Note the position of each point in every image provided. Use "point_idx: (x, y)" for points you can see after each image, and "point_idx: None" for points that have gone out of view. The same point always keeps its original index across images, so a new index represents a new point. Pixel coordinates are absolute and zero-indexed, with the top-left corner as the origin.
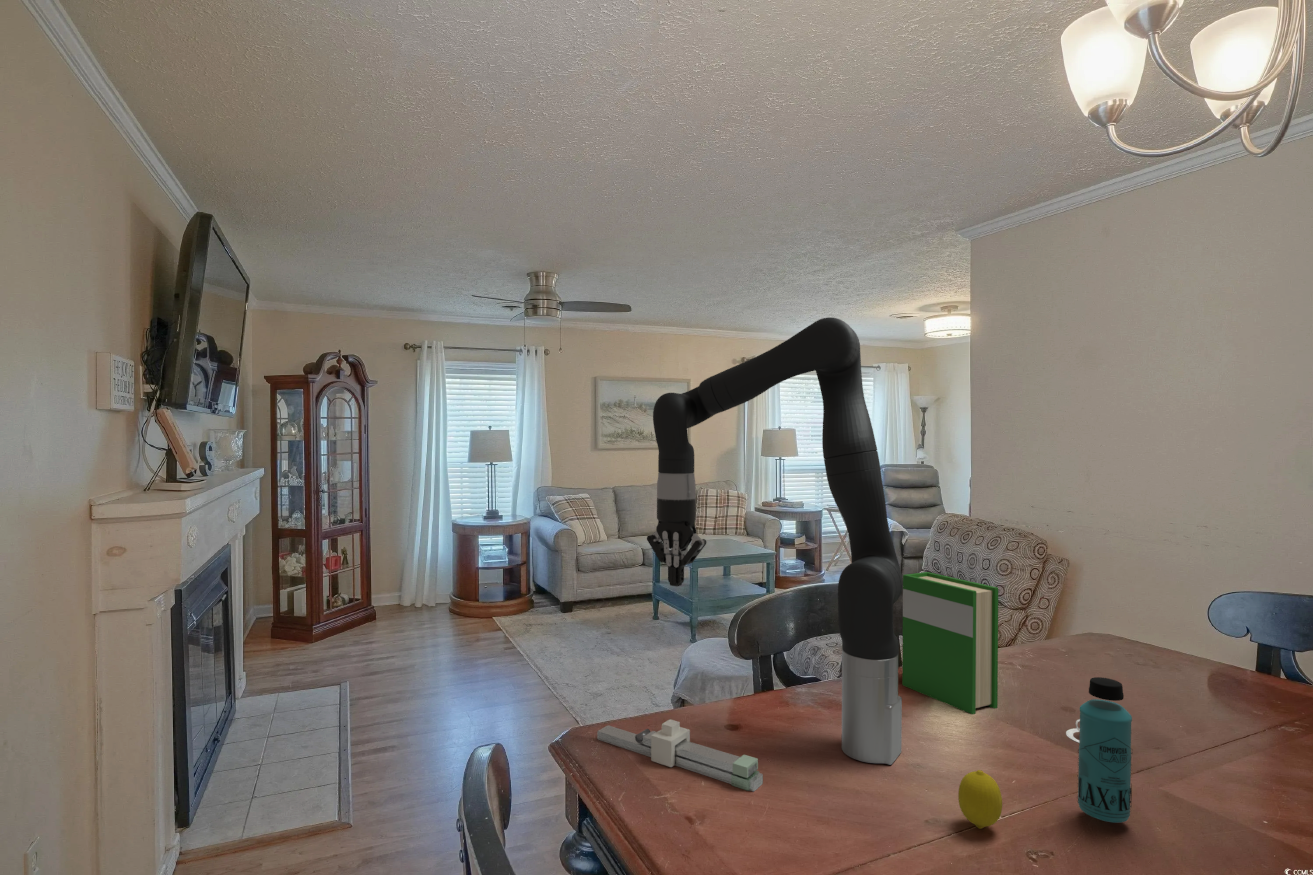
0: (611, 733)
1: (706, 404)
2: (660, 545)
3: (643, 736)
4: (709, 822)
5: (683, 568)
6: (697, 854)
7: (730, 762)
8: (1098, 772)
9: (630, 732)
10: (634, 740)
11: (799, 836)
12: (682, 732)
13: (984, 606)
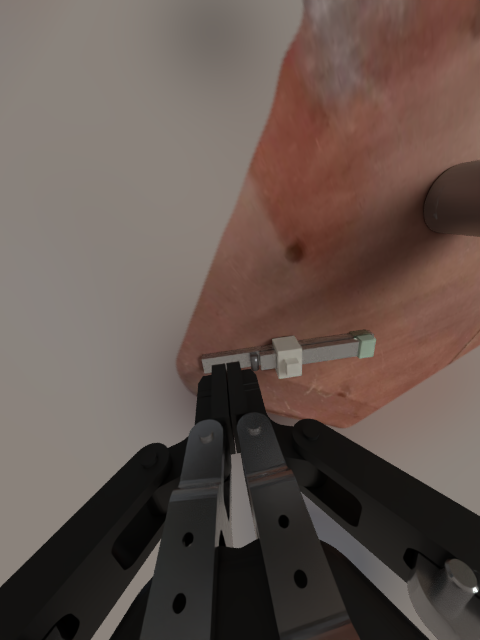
0: None
1: None
2: (92, 592)
3: (261, 369)
4: (354, 389)
5: (266, 415)
6: (361, 412)
7: (354, 354)
8: None
9: (231, 355)
10: (246, 363)
11: (410, 365)
12: (299, 356)
13: None
